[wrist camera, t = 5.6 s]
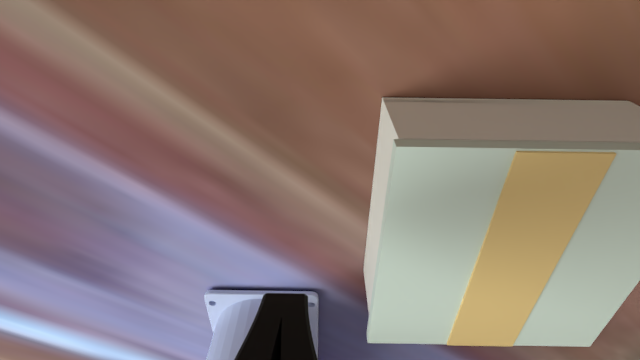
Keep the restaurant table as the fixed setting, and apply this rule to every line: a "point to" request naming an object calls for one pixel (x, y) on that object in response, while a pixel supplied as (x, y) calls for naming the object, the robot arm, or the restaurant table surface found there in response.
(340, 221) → the restaurant table surface
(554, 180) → the box lid
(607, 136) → the parcel box
